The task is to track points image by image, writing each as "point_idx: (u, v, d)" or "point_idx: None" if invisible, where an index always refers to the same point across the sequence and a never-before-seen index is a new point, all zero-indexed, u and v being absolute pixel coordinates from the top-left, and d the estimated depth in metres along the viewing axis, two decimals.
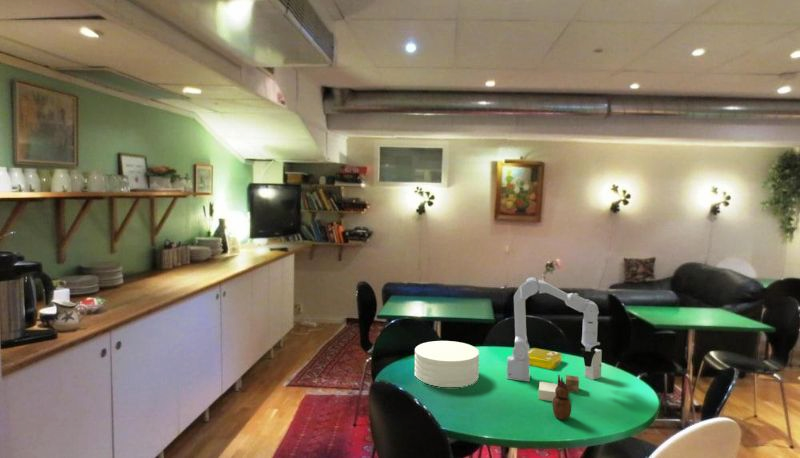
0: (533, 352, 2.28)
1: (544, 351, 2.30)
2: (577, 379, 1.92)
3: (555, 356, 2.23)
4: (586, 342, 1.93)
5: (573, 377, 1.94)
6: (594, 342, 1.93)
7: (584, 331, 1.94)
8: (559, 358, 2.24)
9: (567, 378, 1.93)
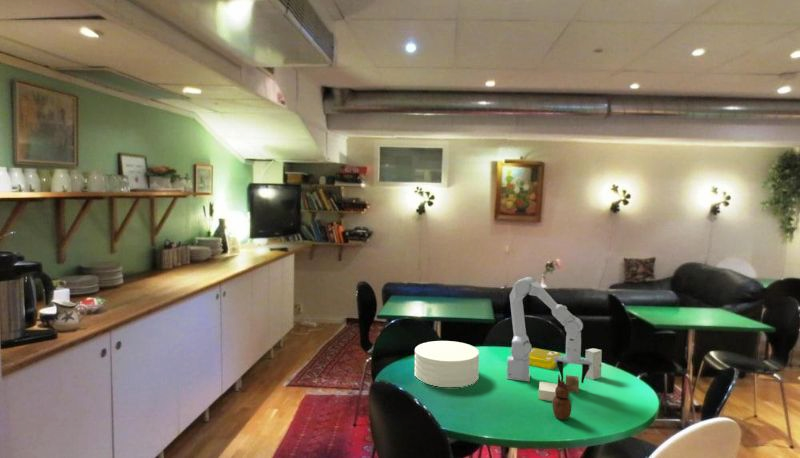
0: (533, 352, 2.28)
1: (544, 351, 2.30)
2: (577, 379, 1.92)
3: None
4: None
5: (573, 377, 1.94)
6: (568, 358, 1.91)
7: None
8: None
9: (567, 378, 1.93)
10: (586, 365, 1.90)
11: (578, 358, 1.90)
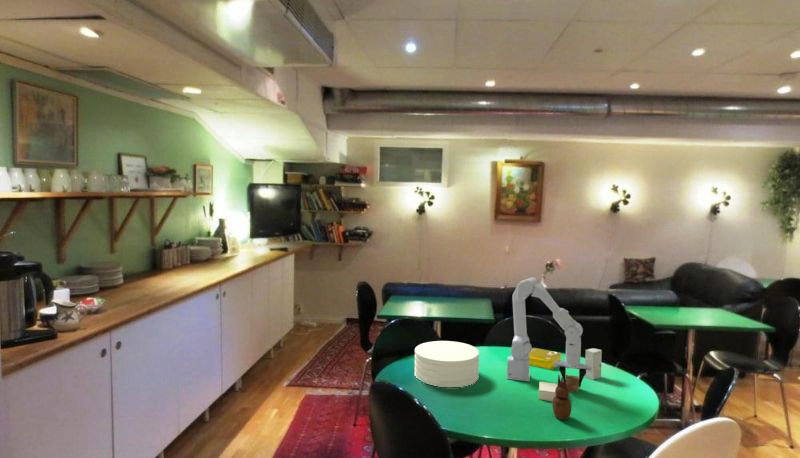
0: (533, 352, 2.28)
1: (544, 351, 2.30)
2: (577, 379, 1.92)
3: (555, 356, 2.23)
4: None
5: (573, 376, 1.94)
6: (567, 363, 1.92)
7: None
8: (559, 358, 2.24)
9: (567, 378, 1.93)
10: None
11: (578, 363, 1.90)
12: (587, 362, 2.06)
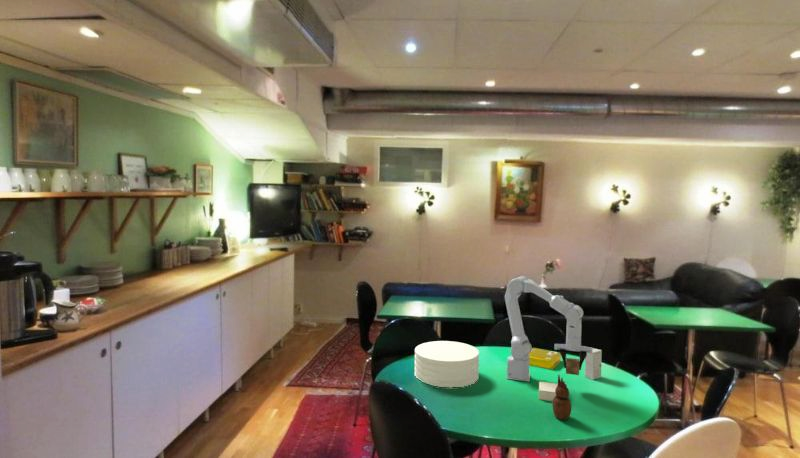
0: (533, 352, 2.29)
1: (544, 351, 2.31)
2: (578, 361, 1.91)
3: (555, 356, 2.23)
4: None
5: (574, 359, 1.94)
6: (568, 346, 1.91)
7: None
8: (559, 358, 2.24)
9: (568, 360, 1.92)
10: (586, 352, 1.90)
11: (578, 345, 1.90)
12: (587, 362, 2.06)
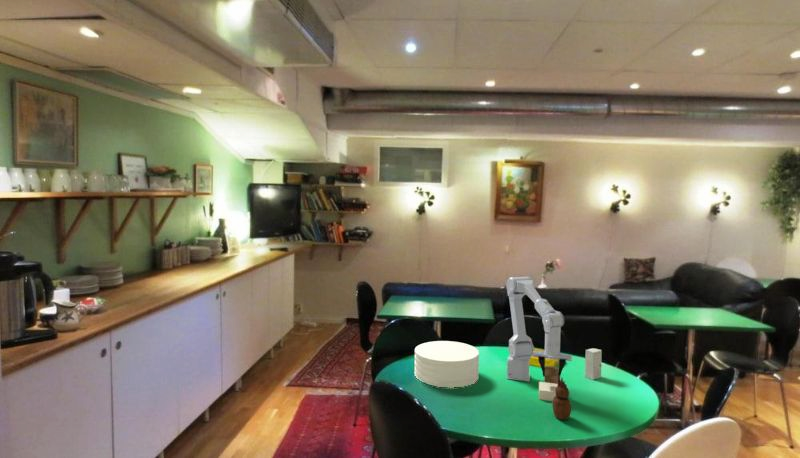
0: None
1: (543, 350, 2.31)
2: (556, 369, 1.84)
3: None
4: None
5: (553, 367, 1.87)
6: (546, 353, 1.84)
7: None
8: None
9: (546, 368, 1.85)
10: (565, 360, 1.83)
11: (557, 353, 1.83)
12: (587, 362, 2.06)
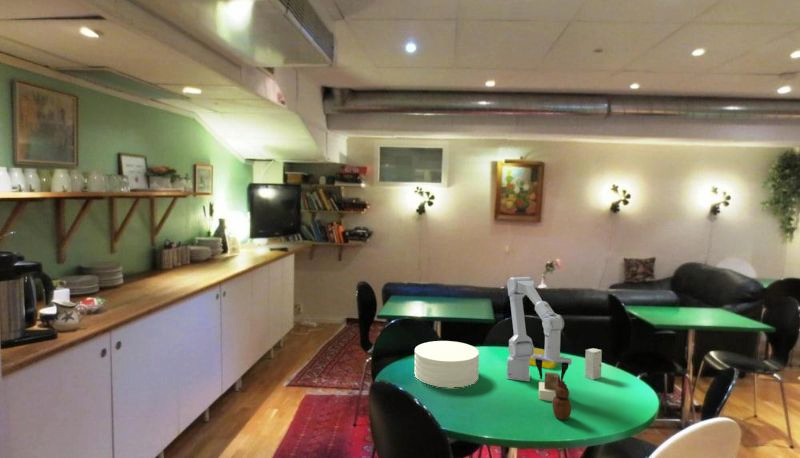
0: None
1: (543, 350, 2.31)
2: (556, 376, 1.85)
3: None
4: None
5: (553, 374, 1.87)
6: (546, 356, 1.84)
7: None
8: None
9: (546, 375, 1.86)
10: (565, 363, 1.83)
11: (557, 356, 1.83)
12: (587, 362, 2.06)
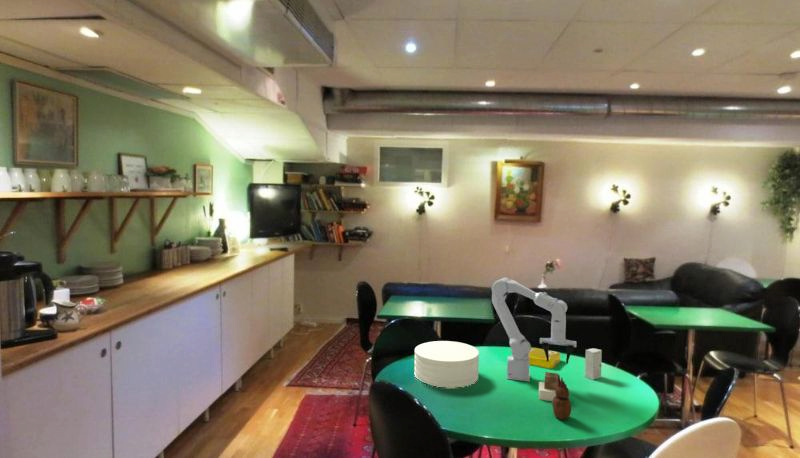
0: (532, 351, 2.29)
1: (543, 350, 2.31)
2: (556, 376, 1.85)
3: (554, 355, 2.24)
4: None
5: (553, 374, 1.87)
6: (553, 340, 1.96)
7: None
8: (558, 357, 2.25)
9: (546, 375, 1.86)
10: (570, 346, 1.95)
11: (563, 339, 1.95)
12: (587, 362, 2.06)
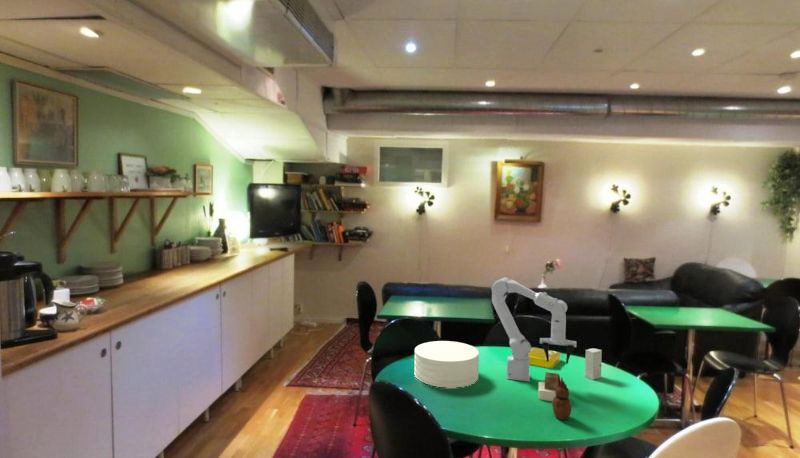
0: (532, 351, 2.29)
1: (543, 350, 2.31)
2: (557, 376, 1.84)
3: (554, 355, 2.24)
4: None
5: (553, 374, 1.87)
6: (553, 340, 1.96)
7: None
8: (558, 357, 2.25)
9: (546, 375, 1.85)
10: (571, 346, 1.95)
11: (563, 339, 1.95)
12: (587, 362, 2.06)
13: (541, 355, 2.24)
